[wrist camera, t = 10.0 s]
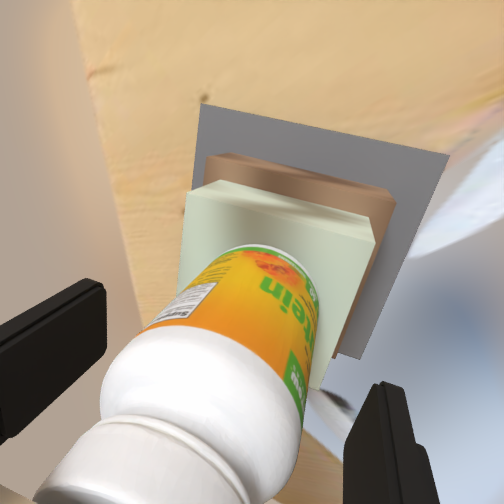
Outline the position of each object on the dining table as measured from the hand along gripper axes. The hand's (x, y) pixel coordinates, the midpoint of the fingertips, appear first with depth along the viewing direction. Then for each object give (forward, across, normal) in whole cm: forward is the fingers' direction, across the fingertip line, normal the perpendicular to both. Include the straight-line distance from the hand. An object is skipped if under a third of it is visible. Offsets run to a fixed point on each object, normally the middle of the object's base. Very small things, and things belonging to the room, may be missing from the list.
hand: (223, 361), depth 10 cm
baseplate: (+13, 0, 0) cm, 13 cm away
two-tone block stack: (+13, 0, 0) cm, 13 cm away
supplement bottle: (+4, 0, 0) cm, 5 cm away
